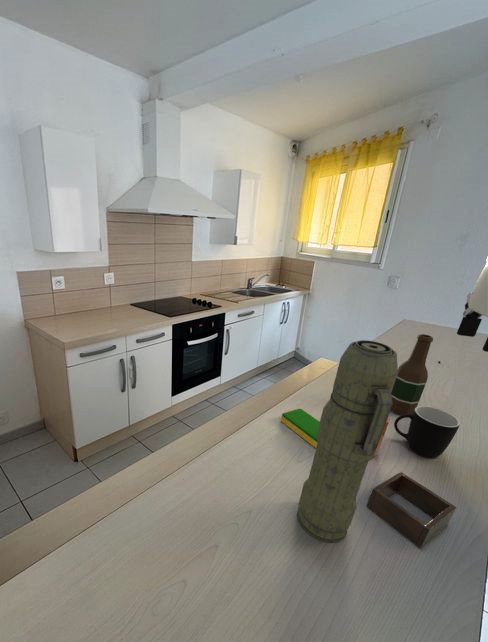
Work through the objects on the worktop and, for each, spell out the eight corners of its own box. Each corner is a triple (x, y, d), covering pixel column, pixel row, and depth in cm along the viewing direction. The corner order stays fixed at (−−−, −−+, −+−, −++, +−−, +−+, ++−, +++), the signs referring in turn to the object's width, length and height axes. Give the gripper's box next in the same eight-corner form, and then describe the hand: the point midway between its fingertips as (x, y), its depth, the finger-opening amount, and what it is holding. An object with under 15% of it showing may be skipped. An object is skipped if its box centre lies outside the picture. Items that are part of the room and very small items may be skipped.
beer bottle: (390, 400, 103) (415, 329, 94) (417, 411, 98) (446, 337, 89) (380, 407, 99) (405, 334, 89) (408, 420, 93) (438, 342, 84)
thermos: (325, 493, 66) (372, 331, 52) (363, 547, 55) (434, 362, 42) (284, 497, 64) (322, 332, 51) (316, 554, 54) (374, 363, 40)
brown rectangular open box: (447, 524, 60) (456, 507, 59) (420, 548, 56) (429, 530, 54) (394, 487, 68) (400, 471, 67) (366, 505, 63) (372, 488, 62)
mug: (442, 446, 82) (457, 413, 78) (446, 467, 75) (463, 431, 71) (388, 430, 88) (400, 398, 84) (388, 448, 81) (400, 414, 77)
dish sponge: (319, 451, 78) (321, 443, 77) (279, 420, 89) (281, 413, 88) (339, 443, 81) (341, 436, 80) (298, 415, 92) (300, 407, 91)
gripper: (581, 263, 50) (529, 362, 57) (509, 253, 66) (475, 332, 72) (523, 258, 52) (480, 356, 58) (467, 250, 67) (437, 328, 74)
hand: (477, 343), depth 65 cm, fingers open, 9 cm apart
